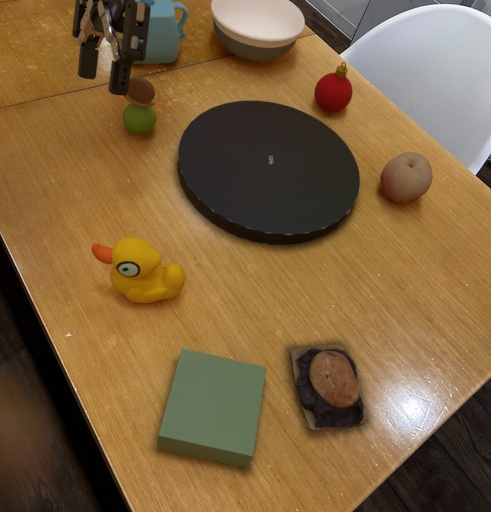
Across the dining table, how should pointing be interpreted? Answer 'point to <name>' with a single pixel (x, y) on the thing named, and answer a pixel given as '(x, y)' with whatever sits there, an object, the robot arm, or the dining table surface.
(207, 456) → the green block
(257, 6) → the bowl
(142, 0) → the teapot
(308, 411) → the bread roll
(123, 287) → the duckling
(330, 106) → the christmas ornament
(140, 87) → the snail figurine
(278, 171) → the disc
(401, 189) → the fruit
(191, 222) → the dining table surface
